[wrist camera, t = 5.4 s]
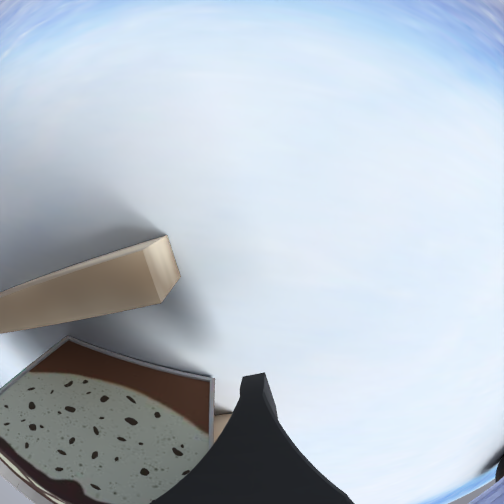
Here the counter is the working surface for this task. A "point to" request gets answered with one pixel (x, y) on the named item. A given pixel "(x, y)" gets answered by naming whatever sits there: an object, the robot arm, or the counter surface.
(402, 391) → the counter surface
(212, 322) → the counter surface
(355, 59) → the counter surface
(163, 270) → the pair of beige bars
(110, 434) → the food container
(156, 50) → the counter surface
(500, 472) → the brown long-necked vase
